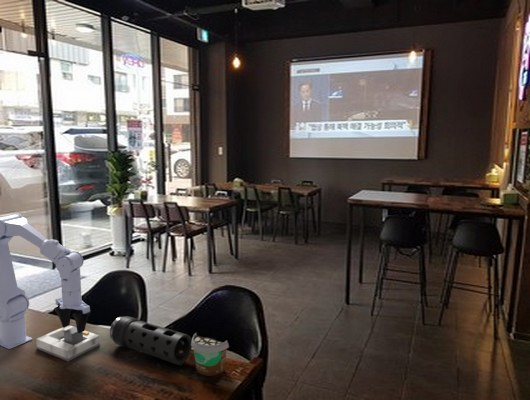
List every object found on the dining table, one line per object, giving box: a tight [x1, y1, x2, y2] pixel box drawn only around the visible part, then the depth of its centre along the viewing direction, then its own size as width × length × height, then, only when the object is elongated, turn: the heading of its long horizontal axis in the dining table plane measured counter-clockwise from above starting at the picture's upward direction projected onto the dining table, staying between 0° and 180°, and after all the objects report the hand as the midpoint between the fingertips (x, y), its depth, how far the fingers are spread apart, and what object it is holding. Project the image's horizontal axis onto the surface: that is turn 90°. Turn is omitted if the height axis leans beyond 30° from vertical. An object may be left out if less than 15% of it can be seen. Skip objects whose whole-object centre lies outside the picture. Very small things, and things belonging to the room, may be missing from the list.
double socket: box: [35, 325, 101, 362], centre depth 138 cm, size 16×12×4 cm
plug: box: [64, 326, 83, 345], centre depth 136 cm, size 4×4×6 cm
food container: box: [191, 332, 230, 377], centre depth 124 cm, size 12×6×10 cm, turn 65°
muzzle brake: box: [109, 315, 193, 367], centre depth 134 cm, size 10×28×10 cm, turn 61°
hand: (73, 329), depth 136 cm, fingers open, 7 cm apart
